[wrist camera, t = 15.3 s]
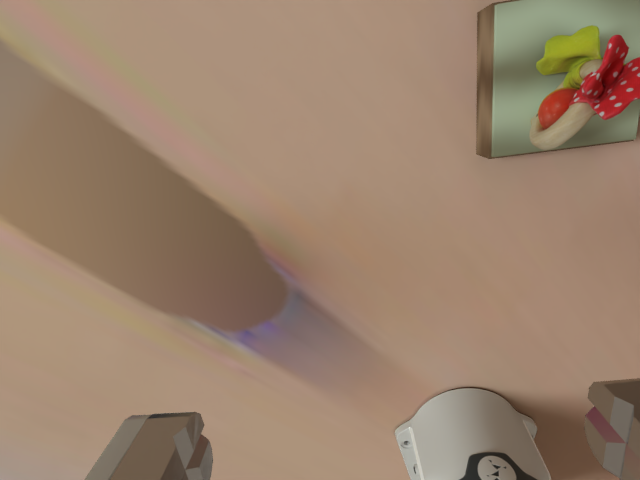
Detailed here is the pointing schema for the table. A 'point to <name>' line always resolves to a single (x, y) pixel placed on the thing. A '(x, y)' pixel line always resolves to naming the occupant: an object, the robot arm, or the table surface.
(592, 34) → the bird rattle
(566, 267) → the table surface
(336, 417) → the table surface
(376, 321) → the table surface
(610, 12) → the sage green square tile
